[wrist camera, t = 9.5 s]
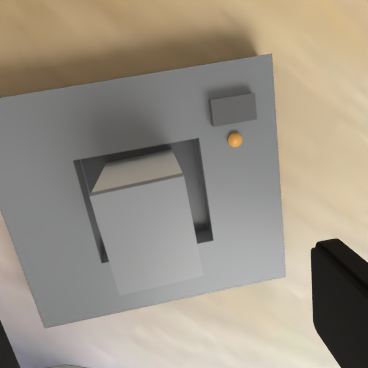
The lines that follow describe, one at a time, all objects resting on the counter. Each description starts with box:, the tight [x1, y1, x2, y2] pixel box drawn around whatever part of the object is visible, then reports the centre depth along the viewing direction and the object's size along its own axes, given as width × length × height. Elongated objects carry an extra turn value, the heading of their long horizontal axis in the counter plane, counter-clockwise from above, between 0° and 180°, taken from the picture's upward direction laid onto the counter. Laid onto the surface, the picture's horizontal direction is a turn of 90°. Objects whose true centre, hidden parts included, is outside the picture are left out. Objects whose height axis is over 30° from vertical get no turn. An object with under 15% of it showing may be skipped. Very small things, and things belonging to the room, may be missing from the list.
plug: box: [89, 149, 203, 296], centre depth 17 cm, size 4×5×6 cm
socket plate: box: [0, 54, 286, 328], centre depth 19 cm, size 16×14×3 cm
